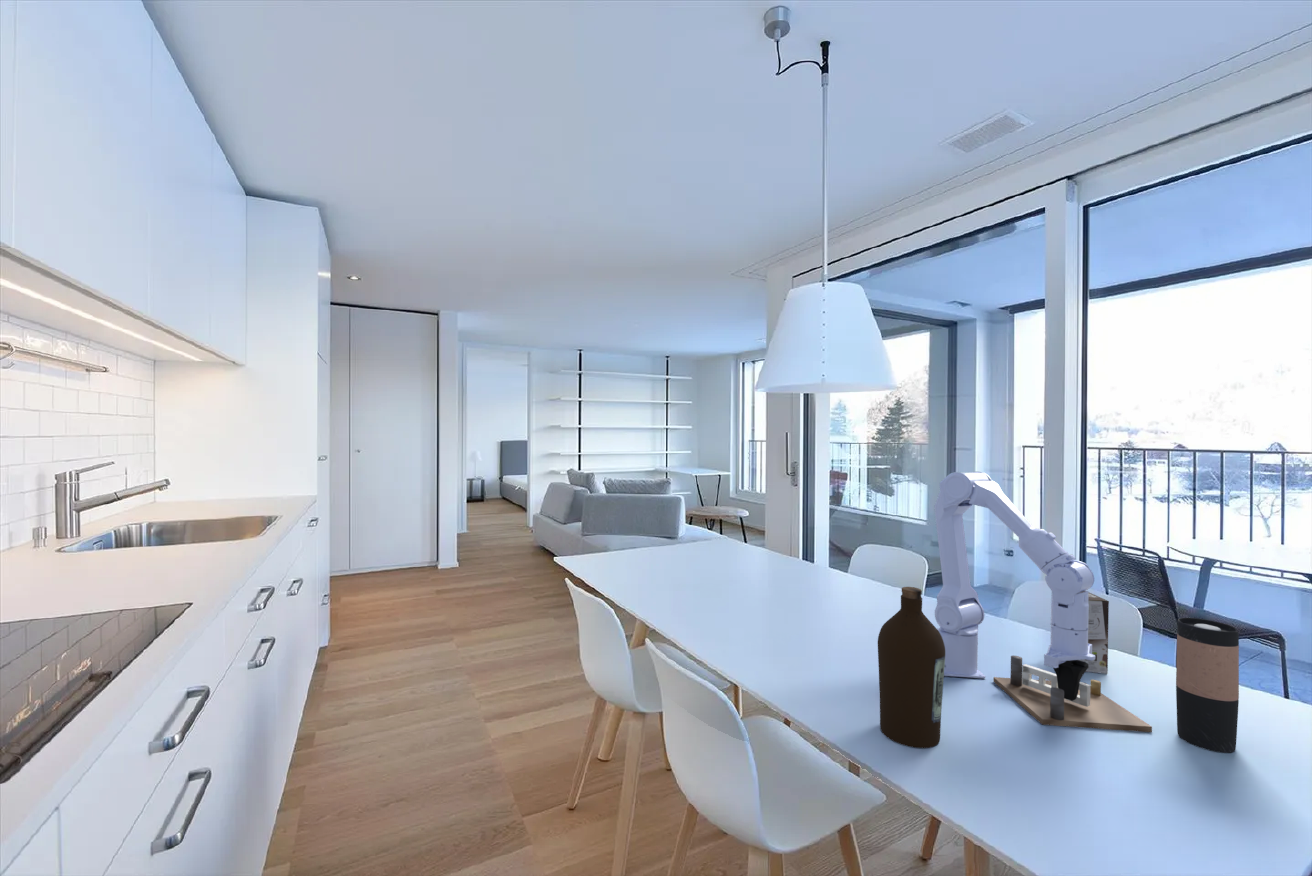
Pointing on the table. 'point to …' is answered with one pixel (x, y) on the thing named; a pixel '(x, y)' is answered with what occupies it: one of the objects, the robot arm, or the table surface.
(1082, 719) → the board
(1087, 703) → the gate
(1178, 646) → the travel mug
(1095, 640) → the coffee box
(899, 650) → the olive oil
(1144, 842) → the table surface
